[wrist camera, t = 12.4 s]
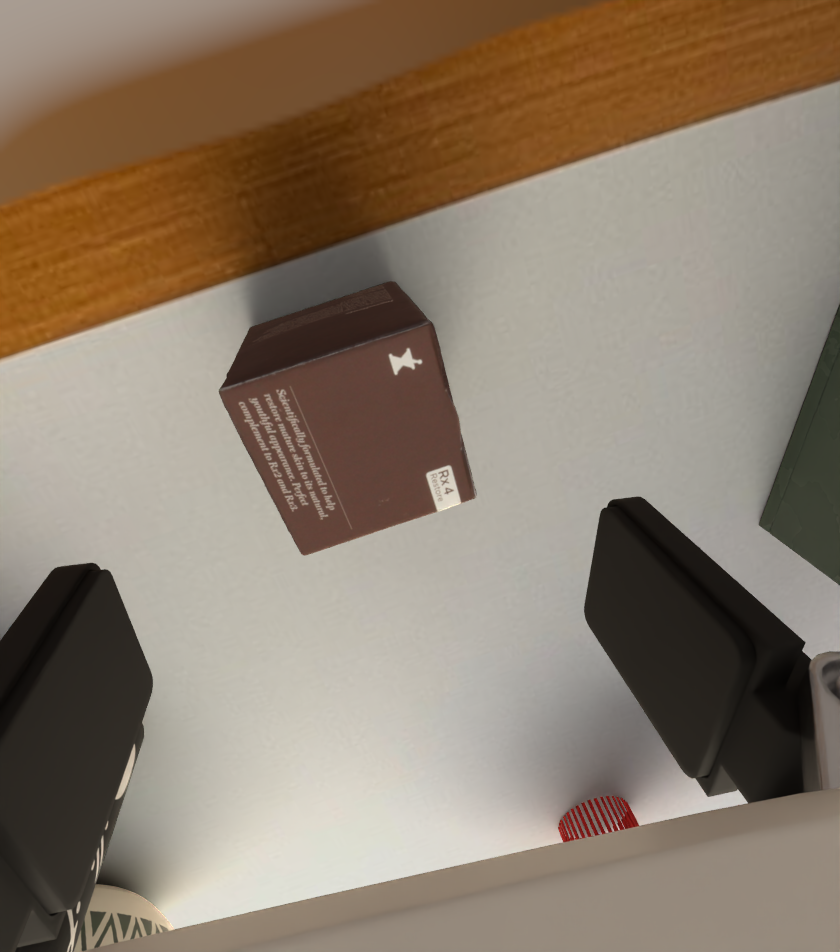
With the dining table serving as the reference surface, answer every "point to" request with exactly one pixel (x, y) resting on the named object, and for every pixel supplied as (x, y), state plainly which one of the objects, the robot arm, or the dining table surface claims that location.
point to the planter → (118, 918)
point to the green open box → (812, 471)
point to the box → (349, 417)
